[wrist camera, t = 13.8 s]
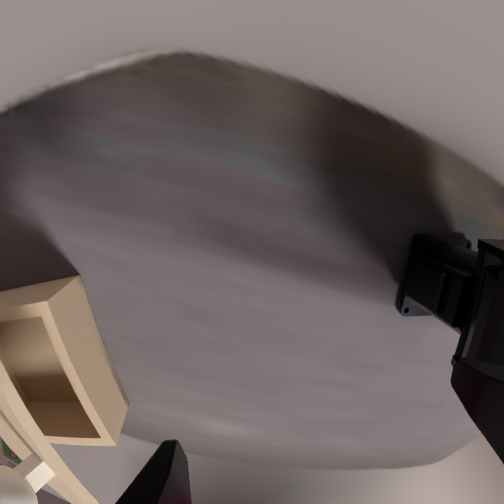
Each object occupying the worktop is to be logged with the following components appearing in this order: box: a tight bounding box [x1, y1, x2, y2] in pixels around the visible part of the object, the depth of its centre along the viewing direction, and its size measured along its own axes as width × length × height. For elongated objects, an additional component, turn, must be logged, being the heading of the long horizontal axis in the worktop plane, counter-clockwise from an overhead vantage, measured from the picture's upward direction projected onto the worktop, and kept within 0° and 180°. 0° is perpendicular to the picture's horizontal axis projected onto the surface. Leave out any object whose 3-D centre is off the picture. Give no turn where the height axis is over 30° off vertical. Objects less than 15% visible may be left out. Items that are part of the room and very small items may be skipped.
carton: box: [0, 275, 129, 446], centre depth 17 cm, size 11×11×5 cm
